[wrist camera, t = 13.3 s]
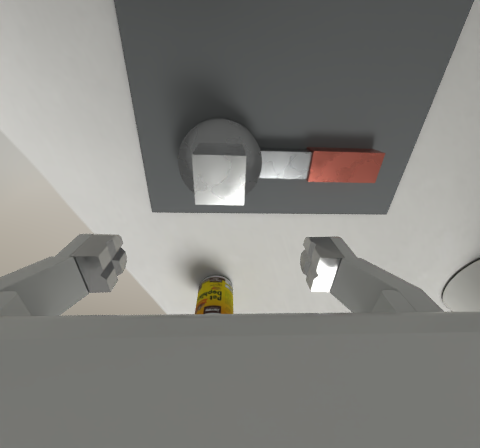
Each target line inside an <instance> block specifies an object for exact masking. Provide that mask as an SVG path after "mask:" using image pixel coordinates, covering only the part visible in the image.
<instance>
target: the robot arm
mask: <svg viewBox="0 0 480 448" xmlns="http://www.w3.org/2000/svg"><path fill="white" fill-rule="evenodd" d="M122 244H123V241H122V238H121V236H119V235H111V234H80V235H78V236H77V237H76V238H75V239H74V240H73V241H72V242H70V243H69V244H68V245H67V246H66V247H65V248H64V249H63V250H62V251H61V252H59V253H58V254H57V255H56V256H55V257H49V258H46V259H44V260H41V261H39V262H36V263H34V264H31V265H29V266H27V267H24V268H22V269H19V270H17V271H15V272H12V273H10V274H7V275H5V276H2V277H0V448H480V260H478V261H476V262H474V263H472V264H471V265H469V266H467V267H466V268H465V269H463V270H462V271H461V272H459V273H458V274H457V275H456V276H455V277H454V278H453V279H452V280H451V281H450V282H449V284H448V285H447V287H446V288H445V290H444V293H443V303H444V305H445V306H446V307H447V308H449V309H450V310H451V311H452V312H444V311H443V310H442V309H441V308H440V307H439V306H438V305H437V304H436V303H435V302H434V301H433V300H432V299H431V298H430V297H429V296H428V295H427V294H426V293H425V292H424V291H423V290H422V289H420V288H418V287H416V286H414V285H412V284H410V283H408V282H406V281H404V280H403V279H401V278H399V277H397V276H395V275H393V274H391V273H389V272H387V271H385V270H383V269H381V268H379V267H377V266H375V265H373V264H371V263H369V262H367V261H366V260H364V259H362V258H357V257H356V255H355V254H354V253H353V252H352V251H351V249H350V248H349V247H348V246H347V244H346V243H345V242H344V241H343V239H342V238H340V237H306V238H305V240H304V244H303V245H304V247H305V250H304V251H303V252H302V253H301V258H300V265H301V269H302V272H303V273H304V274H305V275H307V278H306V281H307V284H308V286H309V288H310V290H311V291H318V292H330V293H331V294H332V295H333V296H335V297H336V298H337V299H338V300H339V301H340V302H341V303H343V304H344V305H345V306H346V307H347V308H348V309H349V310H351V311H352V312H353V313H275V314H179V315H85V316H83V315H81V316H59V315H61V314H62V313H63V312H65V311H66V310H67V309H69V308H70V307H71V306H73V305H74V304H76V303H77V302H78V301H80V300H81V299H82V298H84V297H85V296H86V295H88V294H89V293H96V292H111V291H112V289H113V287H114V286H115V284H116V283H117V281H118V279H117V276H118V275H119V274H121V273H123V271H124V269H125V267H126V263H127V256H126V252H125V251H124V250H123V249H122V248H121V246H122Z"/></svg>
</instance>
